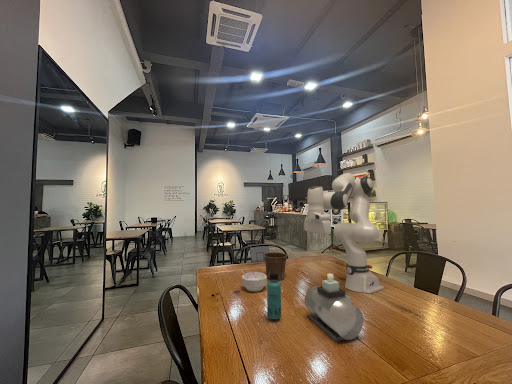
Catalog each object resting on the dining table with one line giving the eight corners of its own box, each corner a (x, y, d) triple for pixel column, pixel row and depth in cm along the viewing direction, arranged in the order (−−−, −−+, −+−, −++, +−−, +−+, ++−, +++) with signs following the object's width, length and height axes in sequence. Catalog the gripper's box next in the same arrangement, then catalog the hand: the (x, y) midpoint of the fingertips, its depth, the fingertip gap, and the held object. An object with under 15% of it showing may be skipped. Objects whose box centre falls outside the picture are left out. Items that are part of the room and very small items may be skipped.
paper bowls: (253, 296, 124) (252, 281, 124) (237, 288, 135) (236, 275, 136) (272, 289, 134) (271, 275, 134) (255, 282, 145) (255, 270, 146)
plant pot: (291, 276, 156) (290, 253, 157) (281, 283, 142) (280, 258, 143) (271, 273, 165) (270, 251, 165) (259, 279, 151) (259, 255, 152)
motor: (322, 308, 108) (321, 276, 109) (364, 338, 84) (362, 296, 84) (300, 312, 104) (300, 279, 105) (337, 345, 80) (336, 301, 81)
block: (332, 290, 96) (331, 272, 96) (339, 294, 91) (338, 275, 92) (322, 292, 94) (322, 273, 95) (329, 296, 90) (328, 276, 90)
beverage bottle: (266, 315, 102) (265, 271, 103) (280, 315, 102) (279, 271, 103) (268, 323, 95) (267, 276, 96) (283, 322, 96) (282, 275, 97)
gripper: (301, 214, 129) (301, 238, 128) (322, 216, 110) (323, 244, 109) (310, 214, 131) (311, 238, 130) (332, 216, 112) (333, 243, 111)
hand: (316, 241), depth 120 cm, fingers open, 8 cm apart
